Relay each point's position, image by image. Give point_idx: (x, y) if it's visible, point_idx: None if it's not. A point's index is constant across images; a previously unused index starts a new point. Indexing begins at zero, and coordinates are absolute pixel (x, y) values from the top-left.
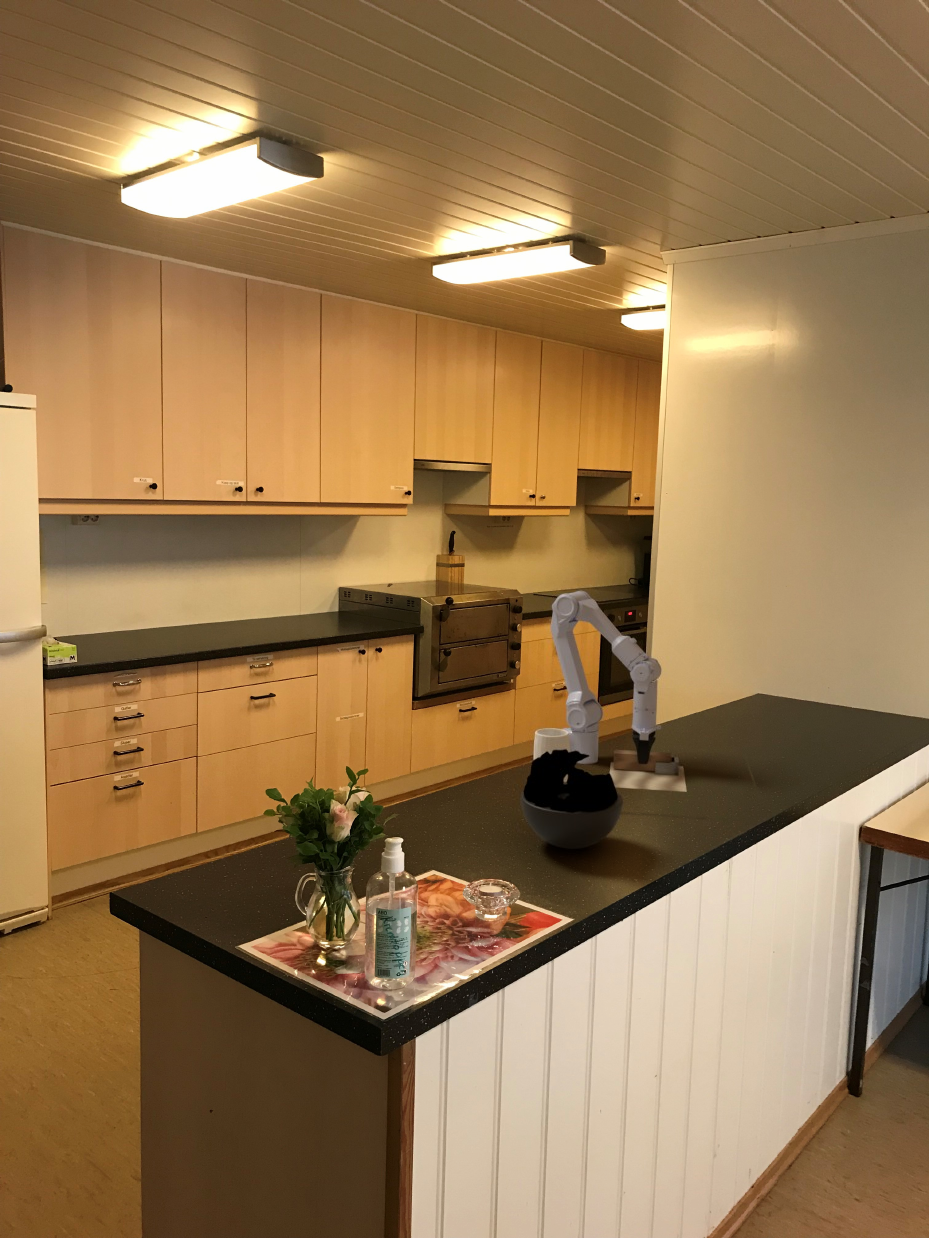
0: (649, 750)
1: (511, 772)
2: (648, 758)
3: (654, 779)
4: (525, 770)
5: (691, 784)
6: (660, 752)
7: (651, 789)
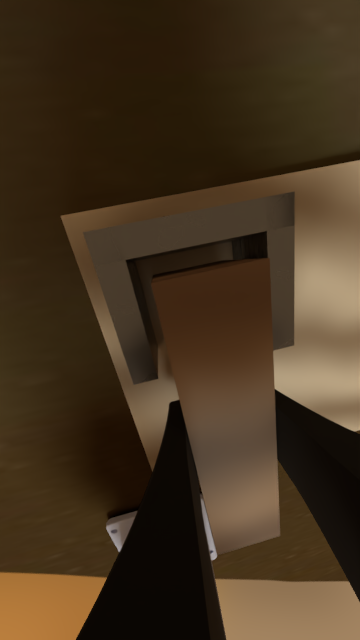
0: (351, 434)
1: (293, 578)
2: (283, 394)
3: (327, 309)
4: (274, 571)
5: (312, 137)
6: (180, 363)
7: None
